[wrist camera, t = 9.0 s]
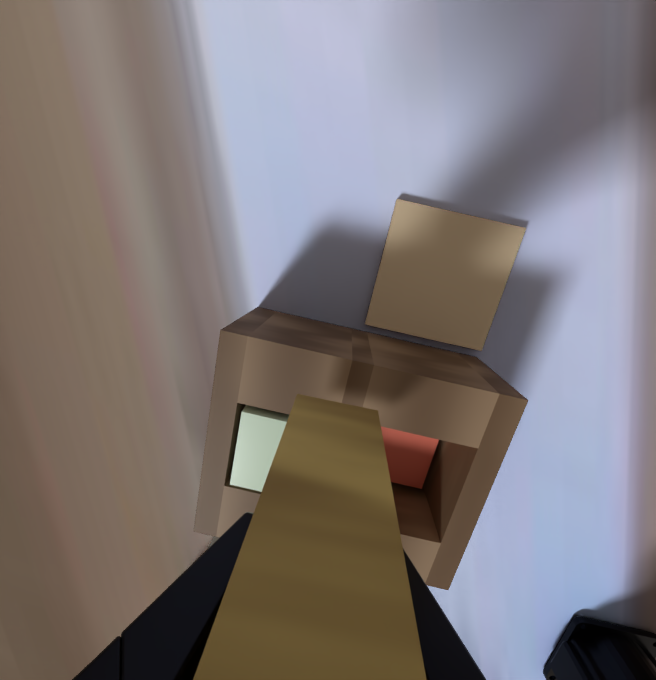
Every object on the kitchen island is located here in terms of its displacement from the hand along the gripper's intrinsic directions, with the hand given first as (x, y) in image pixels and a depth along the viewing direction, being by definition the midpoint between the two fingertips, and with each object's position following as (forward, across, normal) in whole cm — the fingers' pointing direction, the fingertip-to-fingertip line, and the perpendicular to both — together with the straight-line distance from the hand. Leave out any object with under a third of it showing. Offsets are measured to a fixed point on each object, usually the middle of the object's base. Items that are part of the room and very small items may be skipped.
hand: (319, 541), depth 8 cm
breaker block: (+13, -1, +3) cm, 13 cm away
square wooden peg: (+4, 0, 0) cm, 4 cm away
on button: (+10, +2, +3) cm, 10 cm away
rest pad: (+13, -5, -6) cm, 15 cm away
